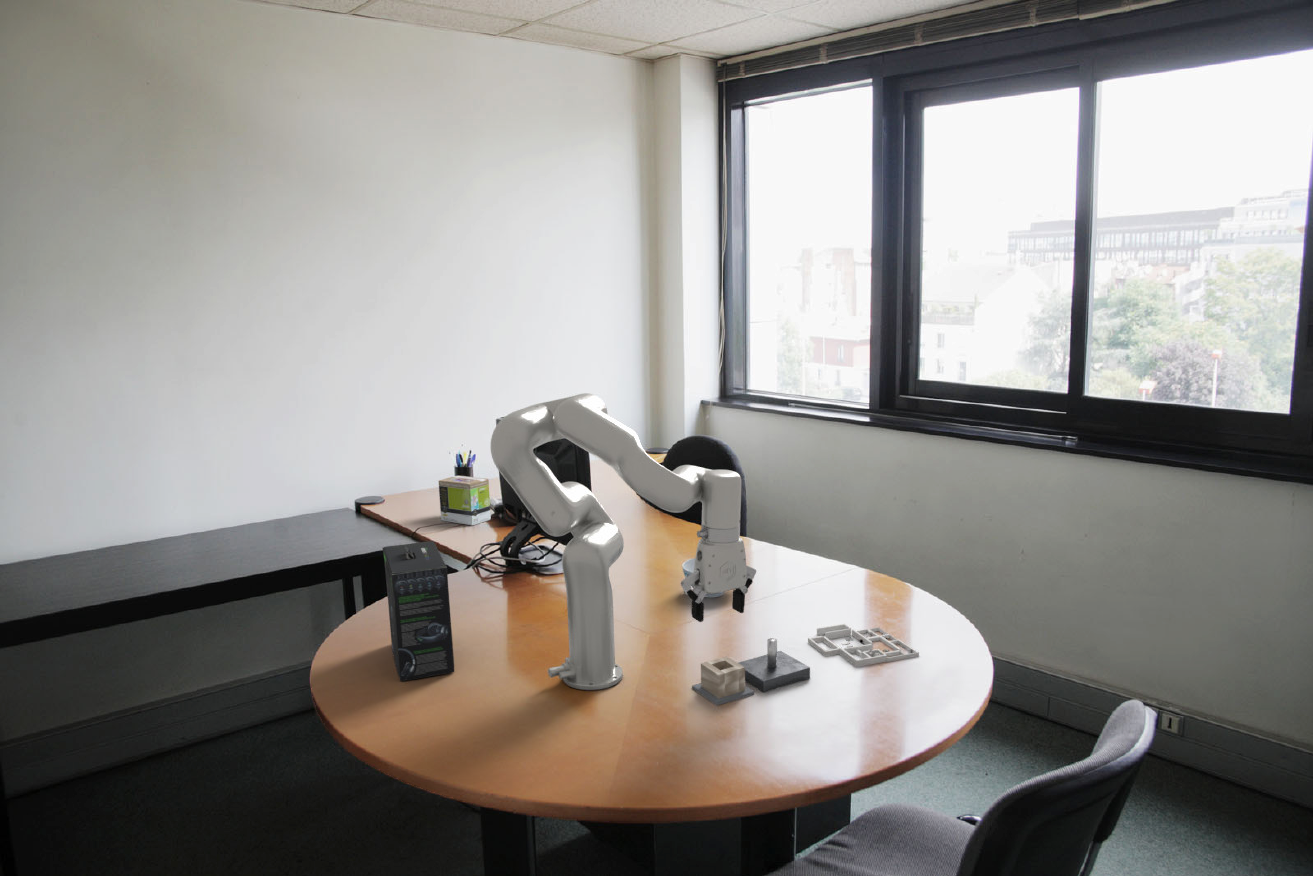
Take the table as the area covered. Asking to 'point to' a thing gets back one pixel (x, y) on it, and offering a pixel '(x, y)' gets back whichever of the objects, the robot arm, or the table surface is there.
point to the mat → (724, 699)
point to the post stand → (774, 669)
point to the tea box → (464, 500)
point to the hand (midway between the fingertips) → (718, 615)
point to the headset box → (419, 610)
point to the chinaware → (689, 569)
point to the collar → (722, 677)
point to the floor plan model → (863, 650)
